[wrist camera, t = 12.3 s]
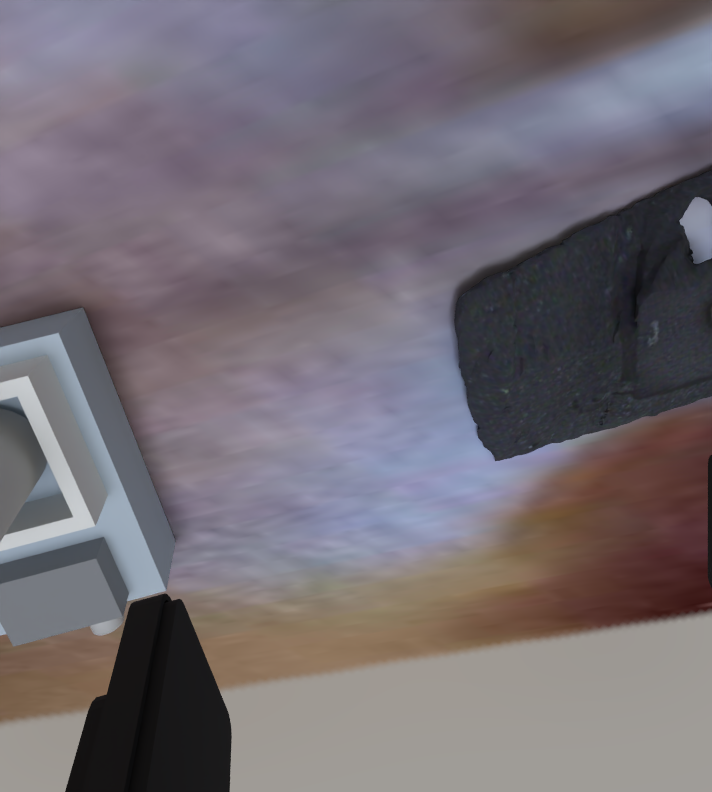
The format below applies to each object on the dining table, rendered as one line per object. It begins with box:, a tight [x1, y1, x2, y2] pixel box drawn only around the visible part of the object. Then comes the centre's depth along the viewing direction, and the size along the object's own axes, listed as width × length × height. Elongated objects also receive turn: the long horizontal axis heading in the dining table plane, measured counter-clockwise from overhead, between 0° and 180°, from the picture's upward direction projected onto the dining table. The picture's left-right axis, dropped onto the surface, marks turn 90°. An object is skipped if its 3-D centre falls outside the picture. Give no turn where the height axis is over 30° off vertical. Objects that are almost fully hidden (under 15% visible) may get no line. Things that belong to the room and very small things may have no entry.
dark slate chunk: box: [455, 171, 712, 461], centre depth 39 cm, size 15×22×5 cm
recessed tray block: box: [0, 308, 176, 646], centre depth 36 cm, size 19×10×8 cm, turn 12°
